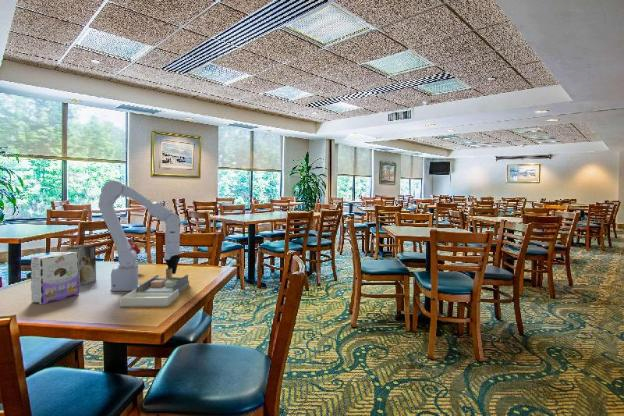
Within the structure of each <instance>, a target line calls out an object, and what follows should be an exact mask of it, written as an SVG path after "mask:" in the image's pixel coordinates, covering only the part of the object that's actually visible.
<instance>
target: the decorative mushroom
mask: <svg viewBox="0 0 624 416" xmlns="http://www.w3.org/2000/svg"><path fill="white" fill-rule="evenodd" d="M128 242H129V244H130V245H131V247H132V249H133V250H134V251H135V252H136V253H137V255H139V254H141V249H140V247H139V245H137V243H135V242H134V241H128Z"/></svg>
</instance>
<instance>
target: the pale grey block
mask: <svg viewBox="0 0 624 416" xmlns="http://www.w3.org/2000/svg"><path fill="white" fill-rule="evenodd" d="M183 277H184V276H183ZM183 277H182V276H180V277H178V276H176V277H175V276H174V277H173V274H172V268H168V267H167V268H165V277H164V276H162V277H161V276H160V277H159V276H158V277H156V278H155V280H165V282H166V281H168V280H180V279H181V278H183Z"/></svg>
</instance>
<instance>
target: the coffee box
mask: <svg viewBox="0 0 624 416" xmlns="http://www.w3.org/2000/svg"><path fill="white" fill-rule="evenodd" d="M66 252H78V281H79V286H83V285H86V284H89V283H92V282H96V281H97V263H96V261H97V260H96V259H97V257H96V245H95V244H80V245H79V244H78V245H72V246H67V247H66Z"/></svg>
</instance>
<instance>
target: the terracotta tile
mask: <svg viewBox="0 0 624 416" xmlns="http://www.w3.org/2000/svg"><path fill="white" fill-rule="evenodd" d="M164 285H165V280H154V281H152V282H151V287H162V286H164Z"/></svg>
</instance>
